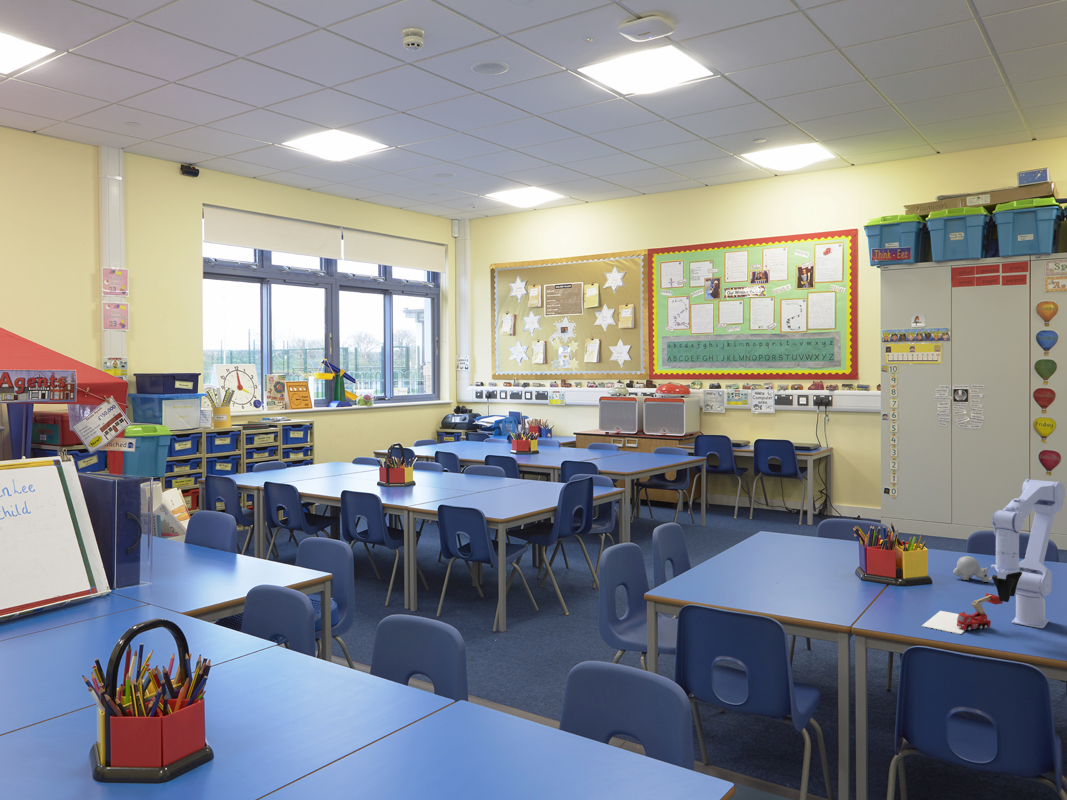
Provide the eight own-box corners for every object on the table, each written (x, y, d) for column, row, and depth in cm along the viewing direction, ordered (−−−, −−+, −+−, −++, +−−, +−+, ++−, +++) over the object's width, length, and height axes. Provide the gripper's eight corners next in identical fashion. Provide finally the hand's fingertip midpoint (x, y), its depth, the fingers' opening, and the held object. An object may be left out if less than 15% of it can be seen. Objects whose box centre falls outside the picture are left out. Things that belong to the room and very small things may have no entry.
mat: (940, 611, 239) (940, 610, 239) (977, 618, 231) (977, 617, 231) (921, 626, 225) (921, 625, 225) (960, 634, 218) (960, 633, 218)
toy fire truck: (954, 627, 223) (957, 595, 222) (991, 623, 227) (993, 592, 226) (964, 631, 220) (966, 599, 219) (1001, 627, 223) (1003, 596, 223)
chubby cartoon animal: (982, 592, 268) (992, 572, 265) (949, 573, 276) (958, 554, 273) (989, 587, 273) (999, 568, 270) (956, 569, 281) (965, 550, 278)
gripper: (997, 545, 225) (997, 590, 226) (985, 554, 215) (985, 601, 215) (1024, 549, 220) (1024, 594, 221) (1014, 558, 210) (1013, 606, 210)
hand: (1007, 598), depth 218 cm, fingers open, 7 cm apart
